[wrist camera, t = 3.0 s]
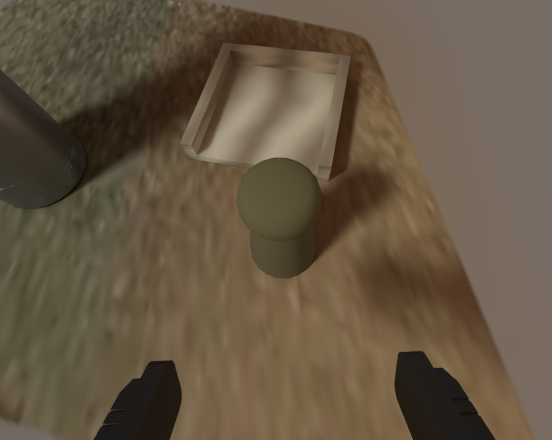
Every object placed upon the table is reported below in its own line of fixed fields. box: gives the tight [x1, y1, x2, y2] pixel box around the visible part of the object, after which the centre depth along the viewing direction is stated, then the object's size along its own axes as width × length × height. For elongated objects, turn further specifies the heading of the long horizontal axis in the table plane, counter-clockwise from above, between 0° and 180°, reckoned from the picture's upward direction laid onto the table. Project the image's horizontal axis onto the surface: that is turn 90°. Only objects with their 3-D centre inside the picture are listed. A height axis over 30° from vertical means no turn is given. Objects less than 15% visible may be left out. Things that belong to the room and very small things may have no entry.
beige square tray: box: [180, 42, 351, 181], centre depth 31 cm, size 15×15×2 cm
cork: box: [237, 157, 322, 278], centre depth 21 cm, size 6×6×11 cm
